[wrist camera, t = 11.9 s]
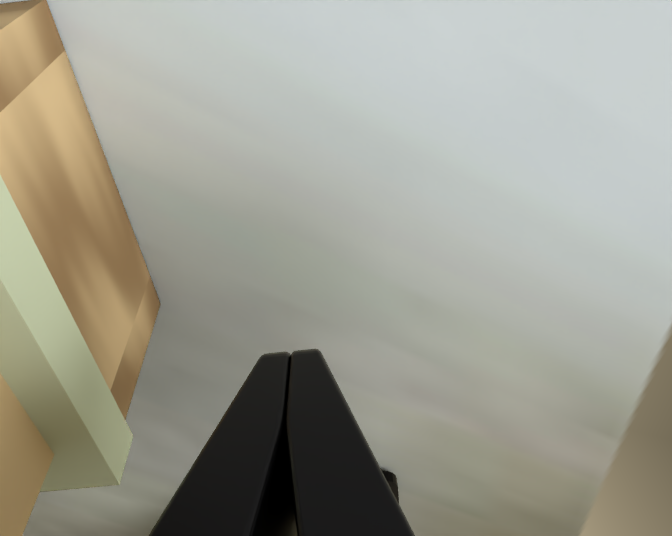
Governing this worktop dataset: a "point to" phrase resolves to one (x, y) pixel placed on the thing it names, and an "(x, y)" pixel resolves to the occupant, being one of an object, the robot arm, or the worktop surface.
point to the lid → (47, 387)
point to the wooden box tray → (71, 197)
